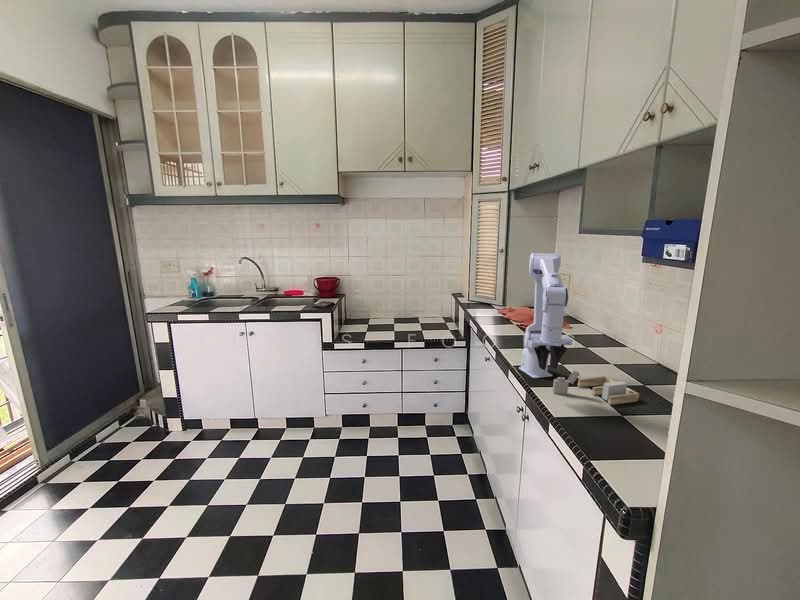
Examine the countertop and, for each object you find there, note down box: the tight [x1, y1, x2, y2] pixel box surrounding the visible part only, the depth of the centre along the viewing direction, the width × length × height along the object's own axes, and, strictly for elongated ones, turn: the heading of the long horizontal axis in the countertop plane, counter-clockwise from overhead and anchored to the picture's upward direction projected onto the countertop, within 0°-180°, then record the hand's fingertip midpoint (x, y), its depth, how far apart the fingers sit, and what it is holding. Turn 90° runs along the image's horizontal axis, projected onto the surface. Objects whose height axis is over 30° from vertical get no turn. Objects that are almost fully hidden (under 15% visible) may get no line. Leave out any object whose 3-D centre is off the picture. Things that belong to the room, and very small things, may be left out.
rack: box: [577, 375, 640, 406], centre depth 112 cm, size 13×11×2 cm
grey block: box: [601, 380, 628, 402], centre depth 109 cm, size 2×7×5 cm, turn 105°
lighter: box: [552, 369, 581, 396], centre depth 111 cm, size 7×2×8 cm, turn 80°
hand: (547, 368), depth 108 cm, fingers open, 3 cm apart
